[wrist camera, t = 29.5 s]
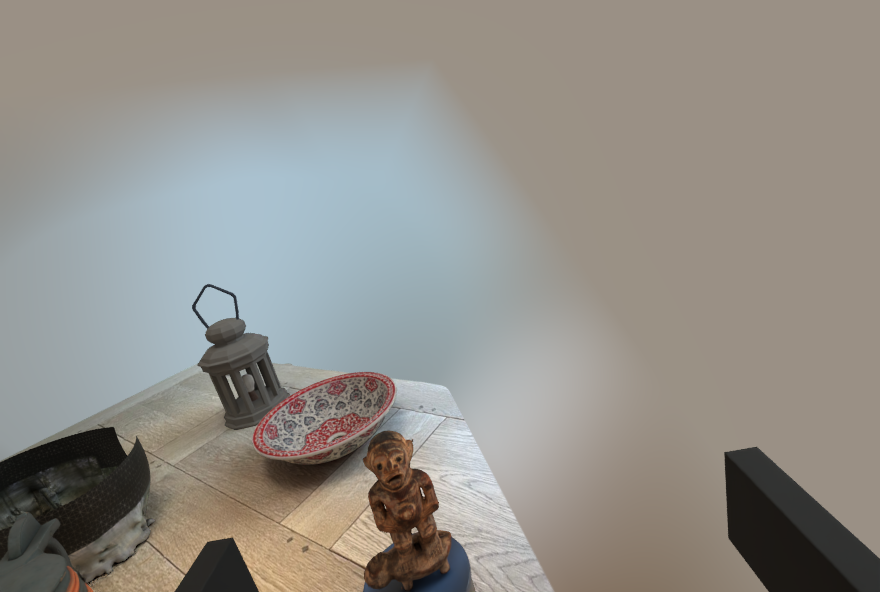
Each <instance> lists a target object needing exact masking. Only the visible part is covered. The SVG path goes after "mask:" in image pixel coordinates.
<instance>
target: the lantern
mask: <svg viewBox="0 0 880 592" xmlns="http://www.w3.org/2000/svg"><path fill="white" fill-rule="evenodd" d="M207 287H212V288H215V289H217V290H220V291H222V292H224V293H227V294H229V295H231V296H232V297H233V298H234V303H235V310H236V318H228V319H224V320H221V321H218V322H216V323H214V324H213V325H211V326H210V327H209V326H208V325H207V323H206V322H205V321H204V320H203V318H202V317H201V316H200V314H199V313H198V311H197V310H196V304H197V302H198V300H199V298H200V297H201V295H202V293H203V292H204V290H205V288H207ZM192 309H193V311H194V312H195V313H196V315H197V316H198V318H199V319H200V320H201V322H202V323H203V324H204V325H205V327H206V328H207V331H206V334H205V336H206V339H207V340H208V341H209V342H211V343H213V344H215V345H213V346H212V347H210V348H209V349H208V350H207V351H206V352H205V354H204V355H203V357H202V358H201V360H200V362H199V363H198V366H200V367H201V368H202V370H203V372H207V373H209V375H210V377H211V379H212V382H213V384H214V386H215V389H216V391H217V393H218V395H219V398H220V400H221V402H222V404H223V407H224V409H225V411H226V413H225V416H224V418H225V420H226V422H225V426H227V427H229V428H232V429H234V430H237V429H242V428H246V427H251V426H255V425H257V424H259V422H260V421H261V420H262V419H263V417H264V416H265V415H266V414H267V413H268V412H269V411H271V410H272V409H273V408H274V407H275V406H277V405H278V404H279V403H281V402H282V401H283V400H285V399H286V398H288V397H290V394H289V393H287V392H286V390H285V388H282V387H281V386H280V383H279V380H278V378H277V375H276V373H275V370H274V368H273V365H272V362H271V360H270V357H269V355H268V353H267V350H268V346H269V344H268V337H266V336H262V335H260V334H254V333H245V334H243V333H244V331H245V327H246V325H245V322H244V321H243V320H241V319H239V315H238V306H237V300H236V296H235V295H234V294H233V293H231V292H228V291H226V290H224V289H221V288H219V287H216V286H214V285H210V284H207V285H205V286H204V287H203V289H202V291H201V292H200V294H199V296H198V297H197V299H196V301H195V302H194V304H193V305H192ZM256 363H257V364H258V367H259V369H260V372H261V374H262V377H263V379H264V382H265V384H266V386H265V385H264V383H263V380H262V378H261V375H260V373H259V370H258V368H257V365H256ZM243 369H246V372H247V374H246V375H243V376H242V377H241V375H240V372H239V371H241V370H243ZM228 374H229V375H230V377H231V380H232V382H233V384H234V387H235V389H236V391H237V394H238V396H239V397H238V398H237V399H235V397H234V395H233V392H232V390H231V388H230V385H229V383H228V381H227V378H226V376H225V375H228Z"/></svg>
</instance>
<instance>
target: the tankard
mask: <svg viewBox="0 0 880 592" xmlns="http://www.w3.org/2000/svg"><path fill="white" fill-rule="evenodd" d="M59 527H60V522H59V520H58V519H53V520H51V521H49V522H47V523H45V524H43V525H40V524H39V523H38V521H37V520H36V519H35V518H34V517H33V516H32V515H31V513H29V512H26V513H23V514H21V515H19V516H17V517H16V519H15V523H14V524H13V526H12V528H11V530H10V532H9V536H8V551H7V552H6V554H5V555H4V557H3V558H2V560H1V561H0V592H93V590H92V589H91V588H90V587H89V586H88V585H87V584H86V583H85V582H84V581H83V580H81V579H80V577H79V576H78V575H77V573H76V572H74V570H73V567H72V564H71V561H70V559H69V557H68V554H67V553H66V551H65V549H64V548H63V546H62V545H61V544H60V543H59V542H58V541H57V540H56V539H55V538H53V537H52V536H53V534H54V533H55V531H56V530H57V529H58V528H59Z"/></svg>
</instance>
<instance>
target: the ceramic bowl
mask: <svg viewBox="0 0 880 592" xmlns="http://www.w3.org/2000/svg"><path fill="white" fill-rule="evenodd" d="M396 394H397V389H396V385H395V383H394V382H393V380H392V379H391V378H389V377H388V376H386V375H383V374H380V373H374V372H357V373H350V374H344V375H340V376H336V377H332V378H329V379H326V380H323V381H320V382H318V383H315V384H313V385H311V386H308V387H306V388H304V389H302V390H300V391H298V392H296V393H295V394H293V395H291V396H290V397H288V398H286V399H285V400H283V401H282V402H281V403H279V404H278V405H277V406H275V407H274V408H273V409H272V410H271V411H269V412H268V413H267V414H266V415H265V416H264V417H263V419H262V420H261V421H260V422H259V424H258V425H257V427H256V429H255V431H254V433H253V437H252V444H253V447H254V449H255V450H256V451H257V452H258V453H259V454H260V455H262V456H264V457H266V458H269V459H275V460H283V461H286V462H290V463H294V464H302V465H312V464H320V463H325V462H329V461H332V460H335V459H338V458H340V457H343V456H345V455H347V454H349V453H351V452H352V451H354V450H356V449H357V448H358V447H360V446H361V445H363V444H364V443H365V442H366V441H367V440H368V439H369V438H370V437H371V436H372V435H373V434H374V433H375V432H376V431H377V429H378V428H379V426H380V425H381V423H382V422H383V420H384V418H385V415H386V413H387V412H388V411H389V410H390V408H391V407H392V405H393V403H394V401H395V398H396ZM339 436H343V437H341V438H339V439H336V440H334V441H332V440H333V439H335V438H336V437H339ZM331 441H332V442H331Z"/></svg>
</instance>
